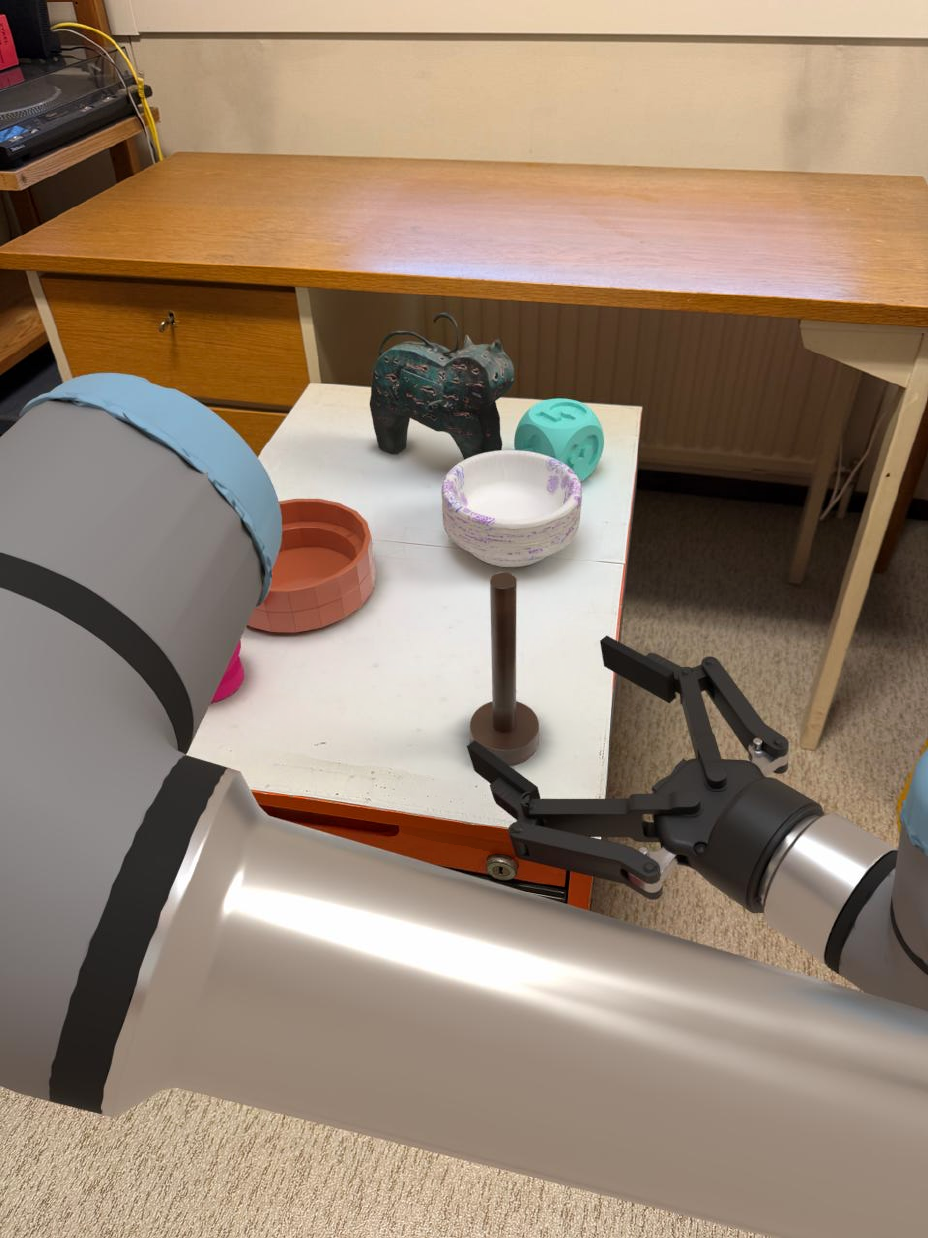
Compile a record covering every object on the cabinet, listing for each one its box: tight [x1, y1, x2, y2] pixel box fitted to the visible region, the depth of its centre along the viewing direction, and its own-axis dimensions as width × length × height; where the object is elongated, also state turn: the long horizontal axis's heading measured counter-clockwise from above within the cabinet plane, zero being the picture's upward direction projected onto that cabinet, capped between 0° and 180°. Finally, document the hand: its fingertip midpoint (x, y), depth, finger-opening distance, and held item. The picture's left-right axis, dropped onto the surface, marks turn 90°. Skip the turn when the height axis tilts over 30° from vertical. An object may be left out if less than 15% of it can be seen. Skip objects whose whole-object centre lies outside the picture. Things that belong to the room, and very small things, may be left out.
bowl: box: [247, 498, 377, 633], centre depth 93 cm, size 16×16×6 cm
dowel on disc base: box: [469, 571, 540, 766], centre depth 72 cm, size 6×6×18 cm
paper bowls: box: [441, 449, 583, 568], centre depth 97 cm, size 15×15×8 cm
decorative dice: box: [513, 397, 605, 482], centre depth 109 cm, size 8×8×8 cm
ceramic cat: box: [369, 312, 515, 461], centre depth 107 cm, size 20×6×20 cm, turn 54°
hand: (542, 700), depth 65 cm, fingers open, 13 cm apart
